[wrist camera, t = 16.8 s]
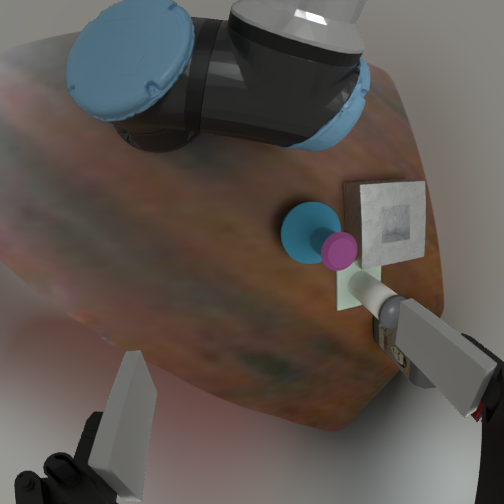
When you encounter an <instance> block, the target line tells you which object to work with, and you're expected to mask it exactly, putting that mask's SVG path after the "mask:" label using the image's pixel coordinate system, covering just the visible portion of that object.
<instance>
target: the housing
mask: <svg viewBox="0 0 504 504" xmlns="http://www.w3.org/2000/svg"><path fill="white" fill-rule="evenodd" d="M343 196H344V213H345V232H346V233H348V234H350V235H351V236H353V238H354V239H355V241H356V244H357V255H356V258H355V260H354V261H353V264H355V265H356V266H358V267H359V268H360V269H362V270H364V269H369V268H373V267H378V266H383V265H388V264H392V263H397V262H401V261H406V260H410V259H415V258H419V257H424V248H425V218H426V200H425V181H421V180H413V179H386V180H370V181H356V182H343Z"/></svg>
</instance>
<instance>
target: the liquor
mask: <svg viewBox="0 0 504 504" xmlns="http://www.w3.org/2000/svg"><path fill="white" fill-rule="evenodd" d="M397 328H398V326H397V327H395V328H391V329H388V328H385V327H384V326H383V325H382V324H381V323H380V322H379V320H378V319H377V318H376V317H374V336H375V342H376V343H377V344H378V345H379V346H380V347H381V348H382V349H383V350H384V352H385V353H386V354H387V355H388V356H389V357H390V358H391V359H392V361H393V362H394V363H395V364H396V365H397V366H398V367H399V368H400V370H401V371H402V372H403V373H404V374H405V375H406V376H407V377H408V379H409V380H410V381H411V382H412V383H413V384H414V385H416V386H419V387H422V388H434V387H436V386H435V385H434V384H433V383H432V382H431V381H430V380H429V379H428V378H427V377H426V376H425V375H424V374H423V373H422V372H421V370H420V369H419V368H418V367H417V366H416V365H415V364H414V363H413V362H412V361H411V360H410V359H409V358H408V357H407V356H406V355H405V354H404V353H403V352H402V351H401V350H400V349H399V348H398V347H397V346H396V345H395V342H396V335H397ZM483 406H484V404H483V403H482V402H481V401H480V403H479V405H478V407H477V409H476V411H475V412H473V413H472V414H470V415H471V416H472V417H473V418H474V419H475V420H477V417H478V415H479V413H480V411H481V410H482V408H483ZM481 417H482V416H481ZM481 417H480V418H481Z"/></svg>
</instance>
